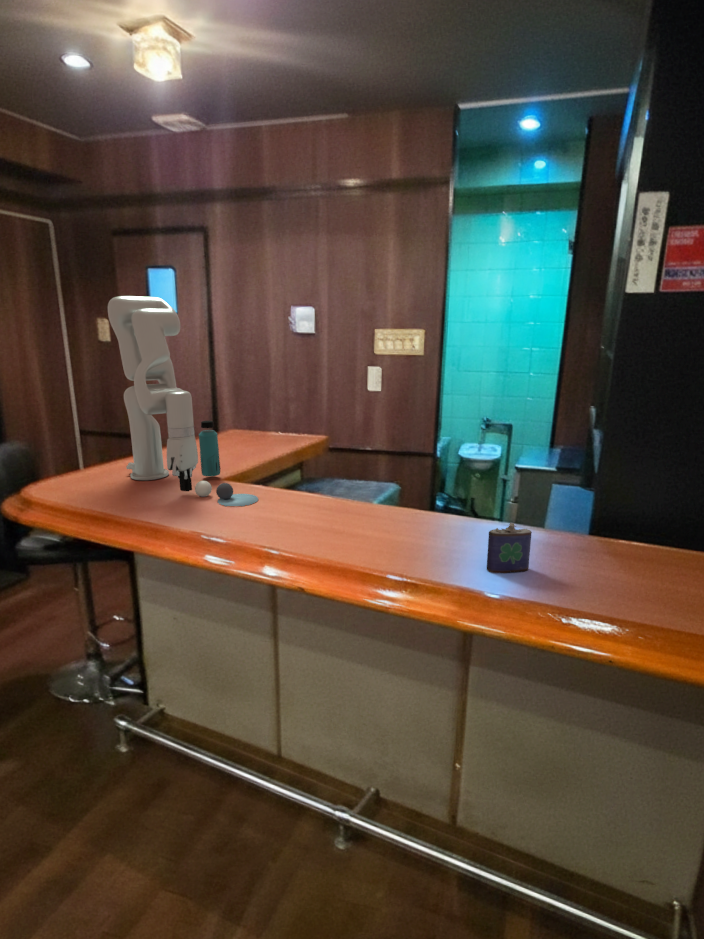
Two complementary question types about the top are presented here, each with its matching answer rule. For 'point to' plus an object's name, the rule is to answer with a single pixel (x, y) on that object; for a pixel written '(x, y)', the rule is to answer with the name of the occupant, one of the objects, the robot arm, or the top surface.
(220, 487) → the object ball
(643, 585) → the top surface
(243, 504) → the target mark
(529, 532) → the flask
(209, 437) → the beverage bottle
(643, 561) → the top surface
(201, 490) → the cue ball
